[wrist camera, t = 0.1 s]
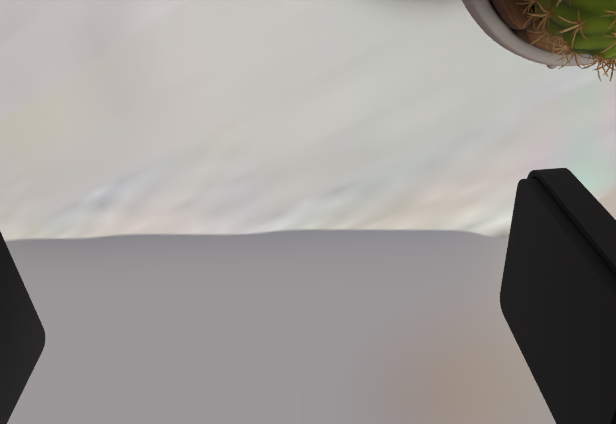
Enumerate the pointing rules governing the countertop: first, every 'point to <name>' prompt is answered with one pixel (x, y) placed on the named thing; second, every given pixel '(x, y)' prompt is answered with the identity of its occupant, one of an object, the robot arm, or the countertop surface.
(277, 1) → the countertop surface
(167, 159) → the countertop surface
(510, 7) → the flowerpot
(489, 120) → the countertop surface
